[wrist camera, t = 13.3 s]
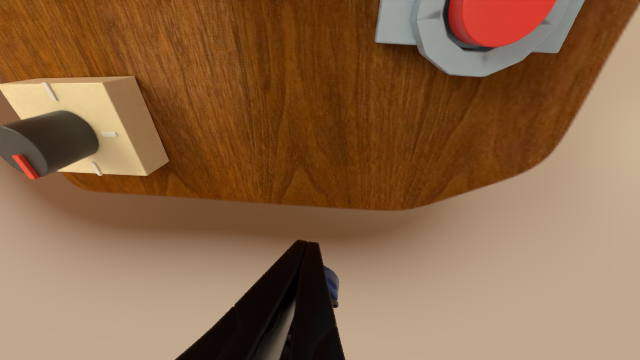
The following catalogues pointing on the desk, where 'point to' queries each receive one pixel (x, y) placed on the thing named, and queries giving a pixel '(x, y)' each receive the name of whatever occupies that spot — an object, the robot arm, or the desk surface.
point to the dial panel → (97, 119)
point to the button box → (445, 48)
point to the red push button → (496, 20)
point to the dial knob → (46, 142)
